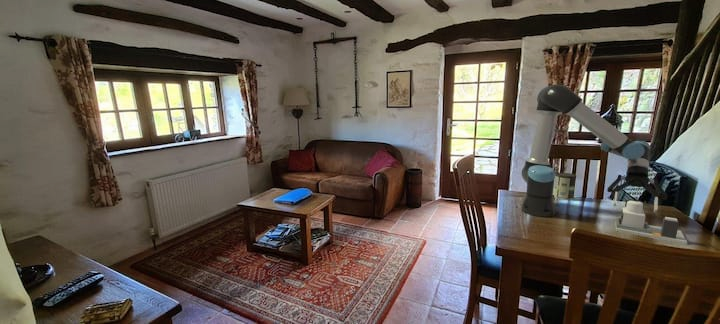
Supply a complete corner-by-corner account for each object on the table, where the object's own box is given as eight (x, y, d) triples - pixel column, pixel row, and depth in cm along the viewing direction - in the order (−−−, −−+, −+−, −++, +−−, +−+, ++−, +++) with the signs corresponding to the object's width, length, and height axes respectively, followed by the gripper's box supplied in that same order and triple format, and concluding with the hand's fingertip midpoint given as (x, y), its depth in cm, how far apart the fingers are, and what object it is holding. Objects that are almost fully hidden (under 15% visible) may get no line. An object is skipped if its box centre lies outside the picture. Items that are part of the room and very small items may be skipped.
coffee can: (568, 195, 180) (571, 172, 177) (577, 200, 170) (580, 176, 167) (549, 194, 182) (552, 172, 179) (557, 199, 172) (559, 176, 170)
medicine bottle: (619, 222, 135) (623, 197, 133) (641, 225, 131) (645, 200, 129) (620, 227, 130) (624, 201, 128) (643, 231, 125) (647, 204, 123)
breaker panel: (616, 231, 129) (617, 225, 128) (615, 221, 139) (616, 216, 138) (686, 244, 116) (687, 238, 115) (680, 233, 126) (681, 227, 125)
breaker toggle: (661, 236, 120) (664, 218, 119) (660, 233, 123) (663, 216, 121) (675, 238, 118) (679, 220, 116) (674, 236, 120) (677, 218, 119)
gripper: (673, 177, 136) (672, 217, 128) (603, 170, 152) (598, 206, 144) (677, 168, 131) (676, 209, 123) (604, 162, 147) (599, 198, 139)
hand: (634, 207), depth 133 cm, fingers open, 13 cm apart
